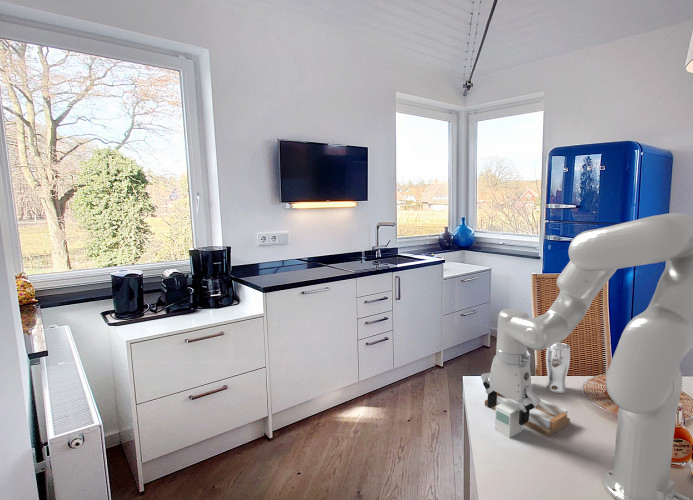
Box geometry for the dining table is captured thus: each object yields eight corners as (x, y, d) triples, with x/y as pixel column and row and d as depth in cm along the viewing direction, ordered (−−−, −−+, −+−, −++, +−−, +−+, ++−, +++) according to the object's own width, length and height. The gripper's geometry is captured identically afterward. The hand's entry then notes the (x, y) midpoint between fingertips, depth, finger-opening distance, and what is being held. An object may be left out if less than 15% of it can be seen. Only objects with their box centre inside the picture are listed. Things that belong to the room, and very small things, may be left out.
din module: (522, 430, 109) (523, 406, 108) (508, 438, 106) (509, 413, 105) (507, 422, 113) (508, 399, 112) (494, 430, 110) (495, 406, 109)
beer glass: (567, 396, 127) (570, 351, 125) (543, 391, 131) (545, 347, 129) (568, 386, 133) (570, 343, 131) (544, 382, 137) (547, 340, 135)
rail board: (569, 423, 112) (570, 410, 112) (548, 437, 106) (548, 423, 106) (506, 394, 129) (507, 383, 128) (484, 405, 123) (485, 393, 122)
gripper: (550, 363, 102) (545, 425, 105) (492, 342, 116) (488, 397, 119) (533, 371, 98) (528, 435, 100) (475, 348, 112) (472, 404, 115)
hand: (507, 414), depth 110 cm, fingers open, 9 cm apart
